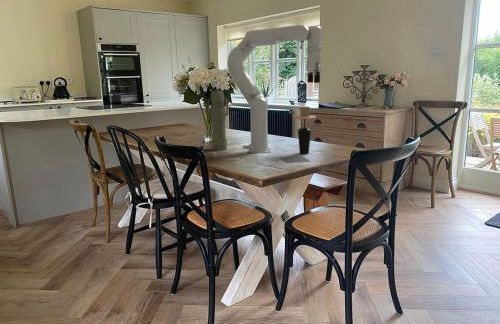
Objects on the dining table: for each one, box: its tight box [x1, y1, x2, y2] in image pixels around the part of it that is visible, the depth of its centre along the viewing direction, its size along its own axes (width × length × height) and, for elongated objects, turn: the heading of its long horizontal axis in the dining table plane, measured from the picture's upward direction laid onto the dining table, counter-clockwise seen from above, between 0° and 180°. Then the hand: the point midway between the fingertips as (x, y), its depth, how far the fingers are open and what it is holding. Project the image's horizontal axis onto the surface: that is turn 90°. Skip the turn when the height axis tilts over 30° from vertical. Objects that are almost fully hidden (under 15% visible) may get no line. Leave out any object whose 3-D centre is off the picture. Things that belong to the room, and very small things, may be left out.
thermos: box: [207, 89, 229, 152], centre depth 223 cm, size 9×12×35 cm
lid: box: [293, 106, 317, 120], centre depth 203 cm, size 12×12×6 cm
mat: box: [279, 155, 312, 164], centre depth 194 cm, size 13×13×1 cm
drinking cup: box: [296, 119, 312, 155], centre depth 206 cm, size 8×8×20 cm
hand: (313, 82), depth 209 cm, fingers open, 9 cm apart
